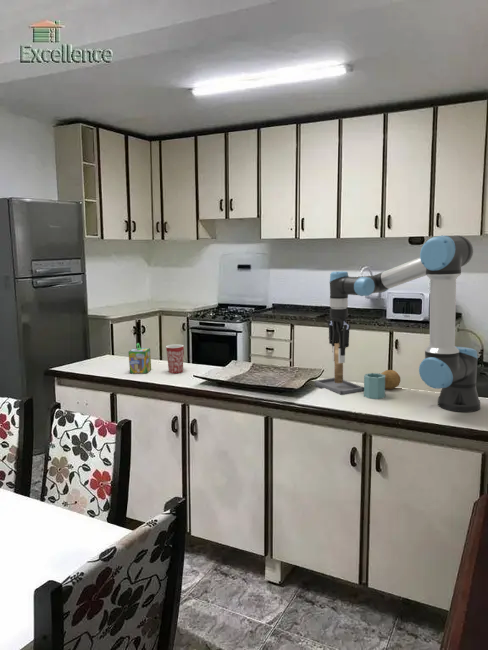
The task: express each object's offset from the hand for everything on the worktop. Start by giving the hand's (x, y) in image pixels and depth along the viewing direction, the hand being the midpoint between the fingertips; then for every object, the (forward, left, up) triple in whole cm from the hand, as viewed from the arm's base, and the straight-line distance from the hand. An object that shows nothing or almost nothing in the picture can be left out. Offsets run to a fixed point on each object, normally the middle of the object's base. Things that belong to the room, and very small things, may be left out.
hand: (338, 361), depth 227 cm
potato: (-10, -19, -13) cm, 25 cm away
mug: (+69, +51, -13) cm, 87 cm away
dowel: (0, 0, -9) cm, 9 cm away
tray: (0, 0, -12) cm, 12 cm away
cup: (-18, -5, -12) cm, 22 cm away
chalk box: (+78, +68, -13) cm, 104 cm away
